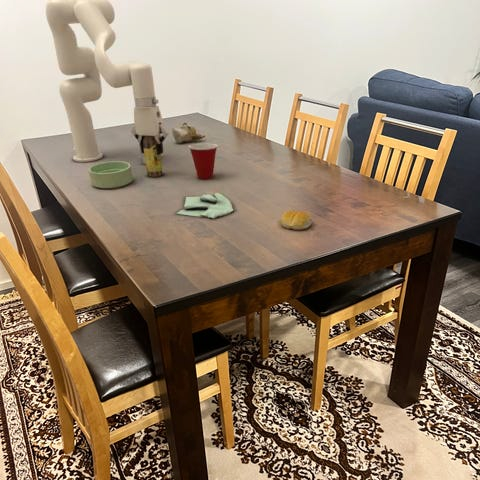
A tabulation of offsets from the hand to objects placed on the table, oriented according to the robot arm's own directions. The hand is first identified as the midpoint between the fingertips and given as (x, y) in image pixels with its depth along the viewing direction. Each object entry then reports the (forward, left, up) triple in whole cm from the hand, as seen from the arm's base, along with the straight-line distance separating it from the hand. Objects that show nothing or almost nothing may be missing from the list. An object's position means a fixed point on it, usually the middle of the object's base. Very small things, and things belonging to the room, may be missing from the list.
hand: (152, 152), depth 183 cm
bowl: (-6, -16, -9) cm, 19 cm away
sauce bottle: (0, 0, -9) cm, 9 cm away
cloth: (+40, -11, -9) cm, 42 cm away
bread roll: (+73, -6, -9) cm, 74 cm away
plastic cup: (+18, +10, -9) cm, 22 cm away
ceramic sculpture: (-28, +43, -9) cm, 52 cm away
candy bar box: (-17, +12, -9) cm, 23 cm away
